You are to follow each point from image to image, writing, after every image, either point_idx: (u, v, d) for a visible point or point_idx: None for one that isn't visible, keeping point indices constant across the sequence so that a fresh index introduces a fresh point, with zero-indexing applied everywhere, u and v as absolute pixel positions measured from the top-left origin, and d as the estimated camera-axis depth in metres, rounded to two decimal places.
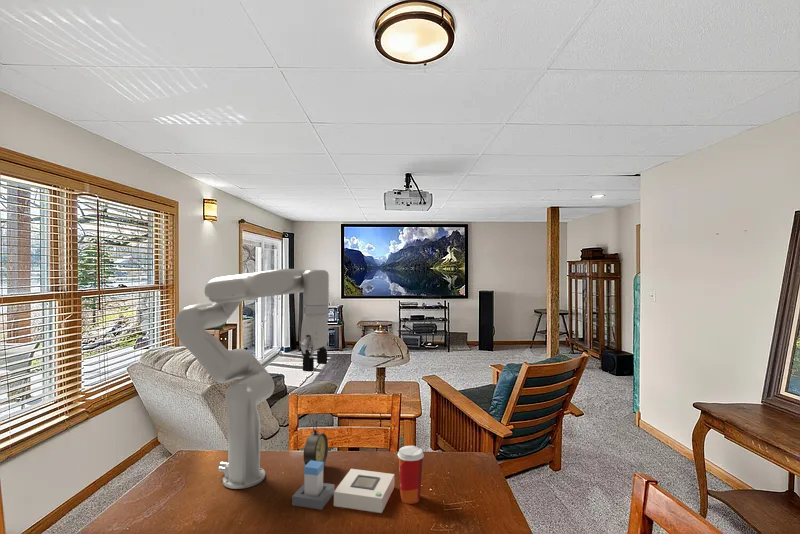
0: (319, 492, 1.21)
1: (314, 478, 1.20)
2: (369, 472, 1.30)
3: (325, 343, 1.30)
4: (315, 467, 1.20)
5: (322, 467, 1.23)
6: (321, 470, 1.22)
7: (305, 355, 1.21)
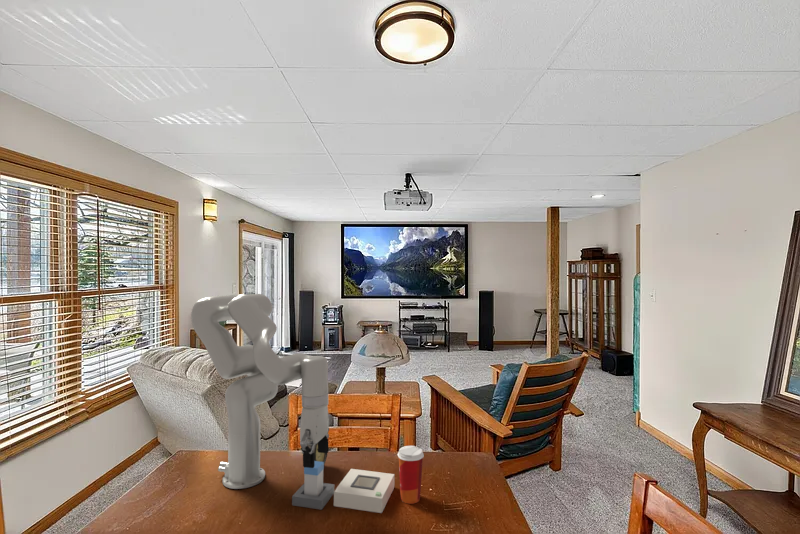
0: (319, 492, 1.21)
1: (314, 478, 1.20)
2: (369, 472, 1.30)
3: (326, 432, 1.24)
4: (315, 467, 1.20)
5: (322, 467, 1.23)
6: (321, 470, 1.22)
7: (305, 452, 1.15)
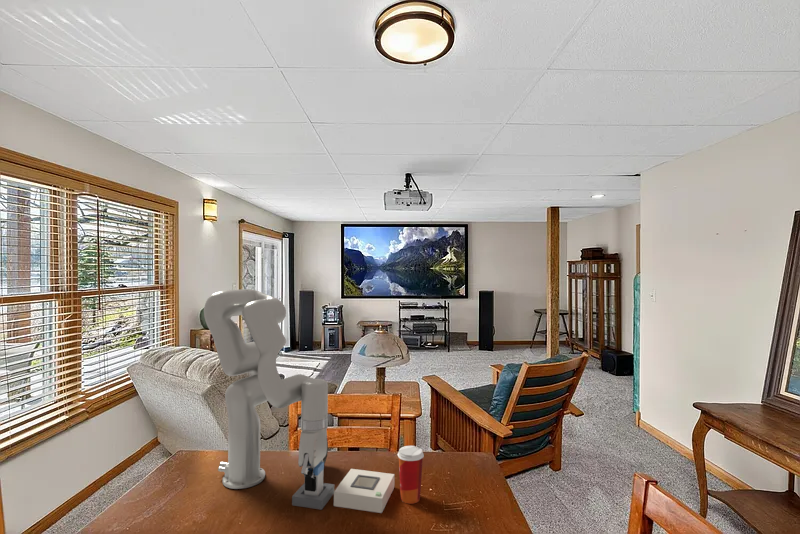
0: (319, 492, 1.21)
1: None
2: (369, 472, 1.30)
3: (324, 455, 1.24)
4: (315, 467, 1.20)
5: (322, 467, 1.23)
6: (321, 470, 1.22)
7: (307, 476, 1.18)
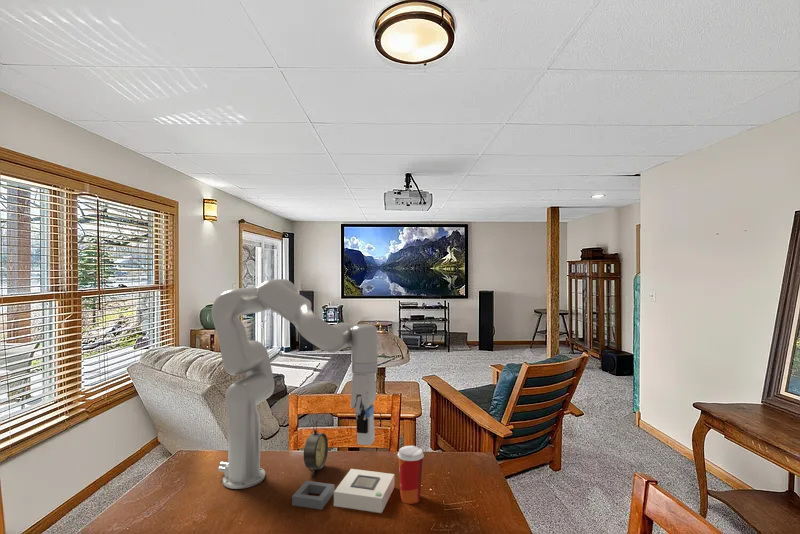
0: (371, 434, 1.23)
1: None
2: (369, 472, 1.30)
3: (374, 399, 1.26)
4: None
5: (372, 410, 1.24)
6: (372, 413, 1.24)
7: (360, 417, 1.20)
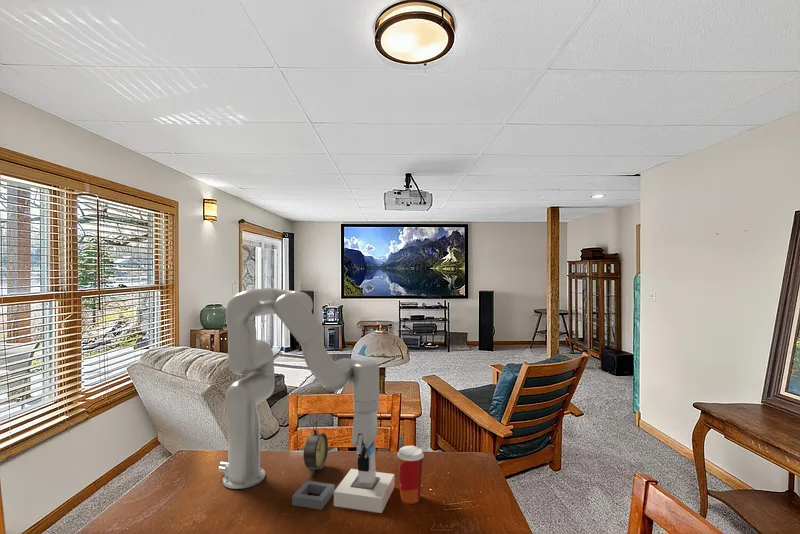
0: (373, 472, 1.23)
1: None
2: None
3: (375, 436, 1.26)
4: None
5: (374, 447, 1.24)
6: (373, 450, 1.24)
7: (361, 456, 1.20)
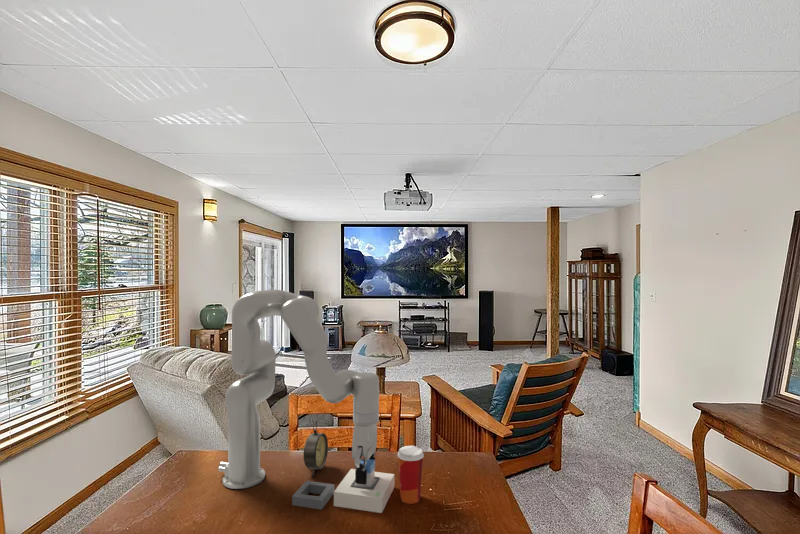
0: None
1: (367, 476, 1.22)
2: None
3: (375, 448, 1.26)
4: (368, 465, 1.22)
5: (374, 465, 1.24)
6: (373, 468, 1.24)
7: (358, 469, 1.18)
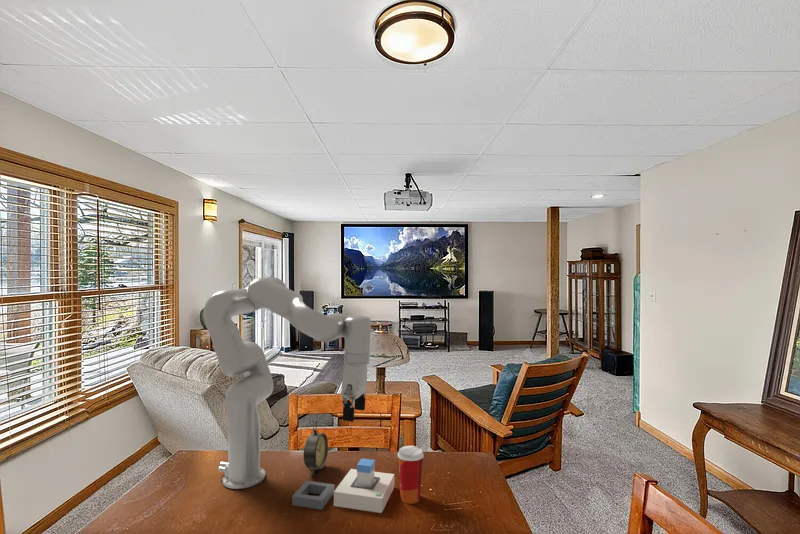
0: None
1: (367, 476, 1.22)
2: None
3: (364, 390, 1.28)
4: (367, 465, 1.22)
5: (374, 465, 1.24)
6: (373, 468, 1.24)
7: (346, 405, 1.19)
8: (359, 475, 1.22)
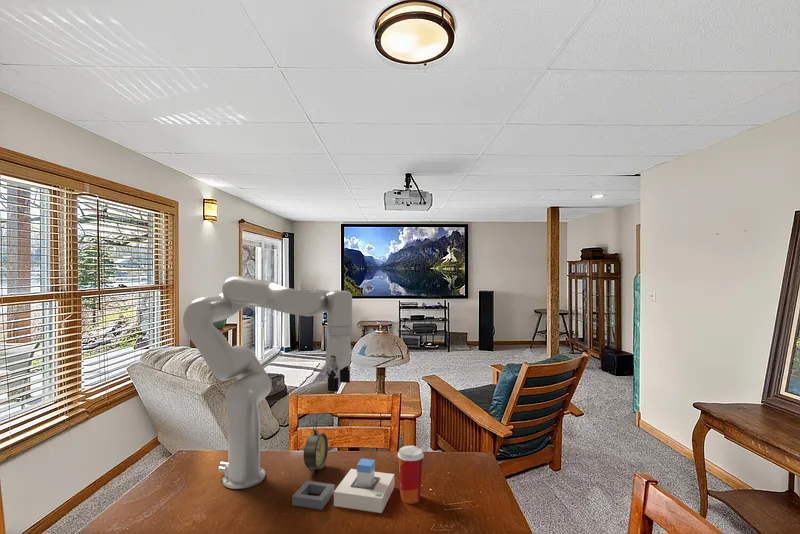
0: None
1: (367, 476, 1.22)
2: None
3: (348, 362, 1.32)
4: (368, 465, 1.22)
5: (374, 465, 1.24)
6: (373, 468, 1.24)
7: (330, 375, 1.24)
8: (359, 475, 1.22)
